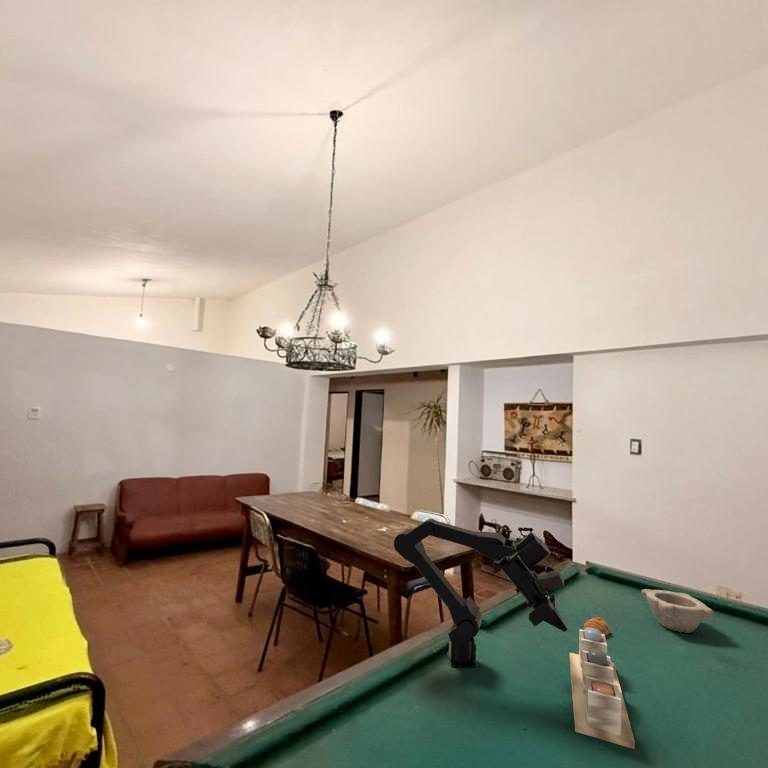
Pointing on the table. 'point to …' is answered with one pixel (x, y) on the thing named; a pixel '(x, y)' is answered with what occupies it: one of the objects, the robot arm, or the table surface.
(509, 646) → the table surface
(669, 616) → the mortar
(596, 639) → the pale blue rounded knob
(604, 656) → the grey rounded piece
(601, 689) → the terracotta button
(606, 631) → the pastry
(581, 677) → the button console
